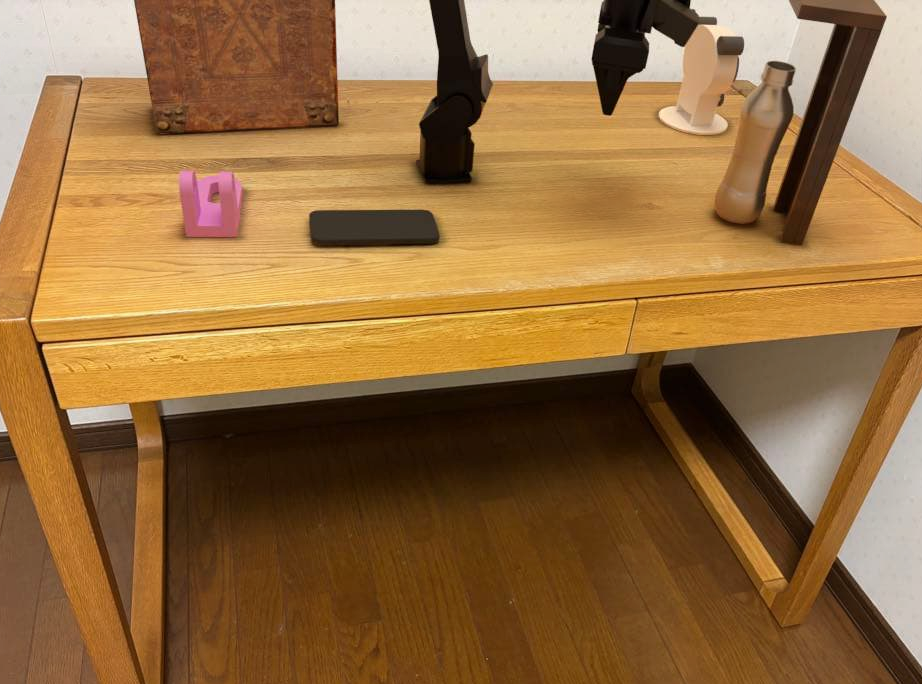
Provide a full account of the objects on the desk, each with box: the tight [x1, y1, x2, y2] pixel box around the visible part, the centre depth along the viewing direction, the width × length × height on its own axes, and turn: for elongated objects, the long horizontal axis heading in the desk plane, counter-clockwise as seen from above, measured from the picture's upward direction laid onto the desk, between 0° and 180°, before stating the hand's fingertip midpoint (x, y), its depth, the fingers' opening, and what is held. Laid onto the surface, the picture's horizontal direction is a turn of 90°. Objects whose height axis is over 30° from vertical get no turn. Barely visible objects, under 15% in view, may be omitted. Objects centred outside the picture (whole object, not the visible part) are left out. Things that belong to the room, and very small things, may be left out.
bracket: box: [178, 170, 244, 238], centre depth 99 cm, size 13×6×7 cm, turn 9°
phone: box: [308, 209, 440, 246], centre depth 101 cm, size 7×1×15 cm
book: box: [133, 0, 340, 135], centre depth 114 cm, size 25×9×30 cm, turn 110°
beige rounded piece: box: [658, 16, 745, 136], centre depth 134 cm, size 12×11×15 cm
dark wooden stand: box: [772, 0, 888, 246], centre depth 104 cm, size 9×10×28 cm
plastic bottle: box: [714, 60, 797, 224], centre depth 107 cm, size 6×7×20 cm
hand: (608, 101), depth 106 cm, fingers open, 9 cm apart
